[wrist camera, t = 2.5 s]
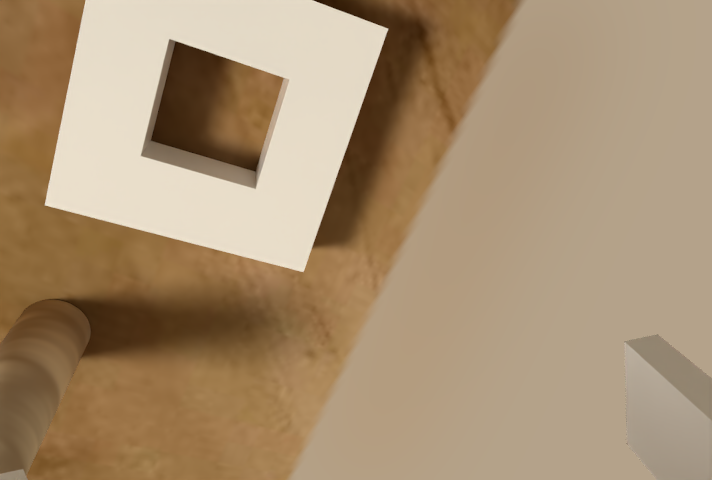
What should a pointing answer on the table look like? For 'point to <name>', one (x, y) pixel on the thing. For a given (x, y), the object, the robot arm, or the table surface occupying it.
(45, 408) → the peg
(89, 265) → the table surface
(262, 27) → the socket block
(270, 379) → the table surface
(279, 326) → the table surface
